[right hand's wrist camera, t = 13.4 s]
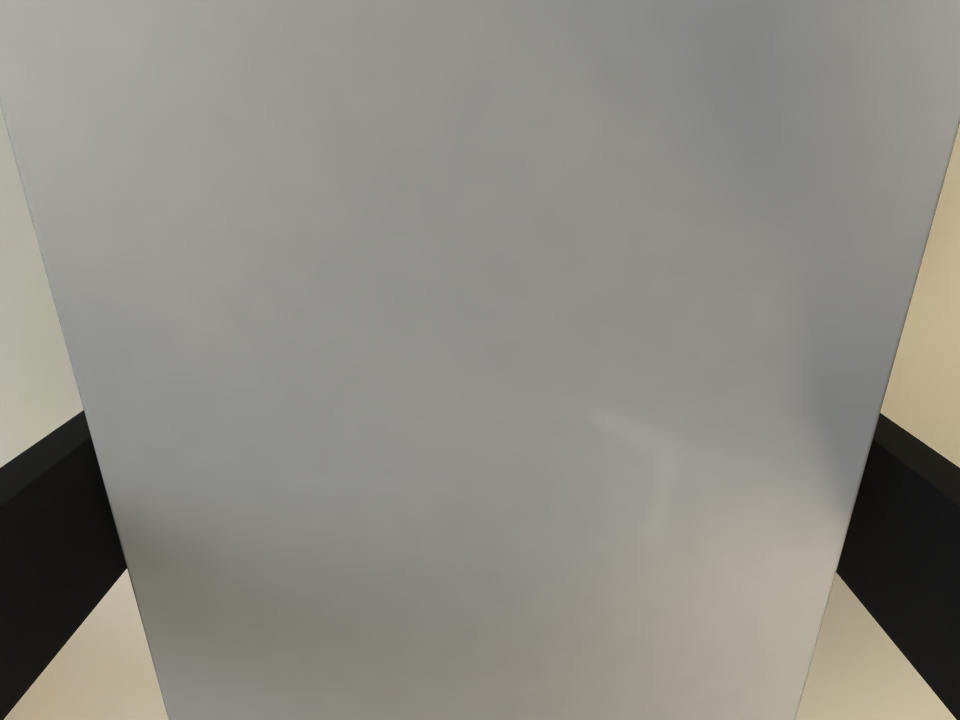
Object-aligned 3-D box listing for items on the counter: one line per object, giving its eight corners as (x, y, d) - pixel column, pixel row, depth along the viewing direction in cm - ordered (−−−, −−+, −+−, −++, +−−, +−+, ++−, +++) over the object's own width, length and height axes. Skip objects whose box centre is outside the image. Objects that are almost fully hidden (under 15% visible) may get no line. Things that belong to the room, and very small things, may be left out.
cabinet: (237, -164, 13) (-238, -746, 4) (726, -165, 13) (1207, -754, 4) (314, 478, 19) (177, 761, 11) (648, 478, 19) (785, 762, 11)
